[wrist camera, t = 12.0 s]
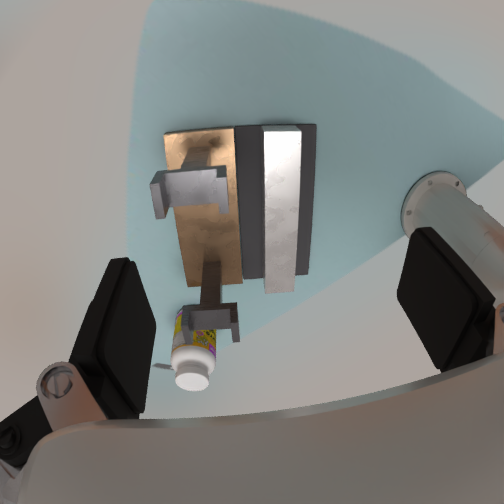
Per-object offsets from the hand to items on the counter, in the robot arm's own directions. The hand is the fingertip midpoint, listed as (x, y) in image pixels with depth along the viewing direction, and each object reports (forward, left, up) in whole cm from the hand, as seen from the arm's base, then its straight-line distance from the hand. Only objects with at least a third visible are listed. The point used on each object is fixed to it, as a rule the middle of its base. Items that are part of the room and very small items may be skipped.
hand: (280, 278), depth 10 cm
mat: (-4, +12, -30) cm, 32 cm away
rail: (-4, +12, -29) cm, 32 cm away
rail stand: (+5, +12, -30) cm, 32 cm away
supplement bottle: (+9, +31, -30) cm, 44 cm away
